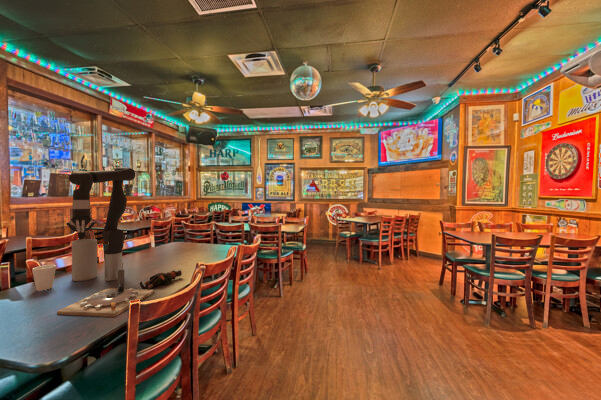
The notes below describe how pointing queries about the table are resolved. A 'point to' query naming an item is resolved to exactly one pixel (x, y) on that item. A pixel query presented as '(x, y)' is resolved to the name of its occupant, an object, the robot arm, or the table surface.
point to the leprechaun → (161, 279)
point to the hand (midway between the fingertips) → (81, 238)
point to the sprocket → (110, 295)
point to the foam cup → (44, 276)
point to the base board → (104, 311)
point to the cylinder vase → (84, 259)
